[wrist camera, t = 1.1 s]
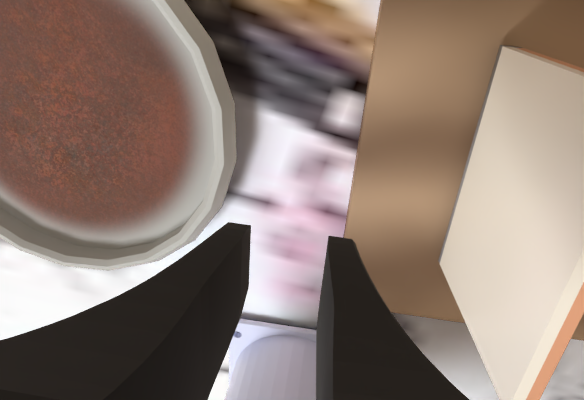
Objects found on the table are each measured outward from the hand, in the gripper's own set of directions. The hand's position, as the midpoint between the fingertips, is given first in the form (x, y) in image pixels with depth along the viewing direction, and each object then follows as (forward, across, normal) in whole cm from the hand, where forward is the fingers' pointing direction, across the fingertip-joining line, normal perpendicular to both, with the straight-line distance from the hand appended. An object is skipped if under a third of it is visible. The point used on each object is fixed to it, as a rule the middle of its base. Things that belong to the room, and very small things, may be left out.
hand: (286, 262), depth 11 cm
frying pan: (+11, +17, -2) cm, 20 cm away
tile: (+5, -7, 0) cm, 8 cm away
